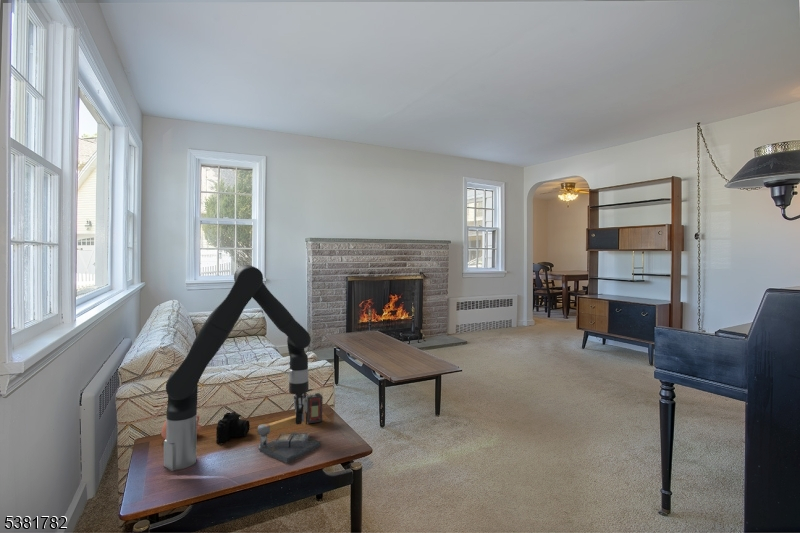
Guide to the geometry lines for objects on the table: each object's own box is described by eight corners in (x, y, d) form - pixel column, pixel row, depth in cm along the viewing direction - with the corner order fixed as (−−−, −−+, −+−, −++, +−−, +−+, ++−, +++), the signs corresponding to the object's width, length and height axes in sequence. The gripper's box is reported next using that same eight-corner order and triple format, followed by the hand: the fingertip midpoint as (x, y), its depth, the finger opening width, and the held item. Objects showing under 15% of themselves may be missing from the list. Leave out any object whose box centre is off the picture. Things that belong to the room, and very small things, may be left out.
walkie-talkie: (302, 427, 170) (302, 380, 170) (300, 423, 174) (301, 377, 174) (322, 424, 173) (323, 378, 173) (320, 420, 177) (321, 375, 177)
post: (262, 450, 148) (262, 437, 148) (255, 447, 150) (255, 434, 150) (271, 446, 151) (271, 433, 151) (264, 444, 154) (264, 431, 154)
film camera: (237, 445, 153) (237, 422, 153) (212, 444, 153) (213, 421, 153) (253, 429, 168) (254, 407, 168) (231, 428, 168) (231, 407, 168)
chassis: (286, 463, 139) (287, 451, 139) (260, 451, 147) (260, 440, 147) (320, 446, 152) (320, 435, 152) (294, 436, 160) (294, 426, 160)
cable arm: (261, 436, 148) (261, 428, 148) (255, 432, 151) (255, 424, 151) (306, 421, 162) (306, 413, 162) (300, 418, 165) (300, 411, 165)
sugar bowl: (165, 432, 163) (165, 407, 163) (203, 428, 168) (203, 404, 168) (157, 445, 152) (157, 418, 152) (198, 440, 156) (198, 414, 156)
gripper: (310, 383, 154) (310, 428, 154) (306, 374, 166) (306, 416, 166) (290, 385, 151) (290, 431, 151) (287, 376, 164) (287, 418, 164)
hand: (298, 423), depth 159 cm, fingers closed
